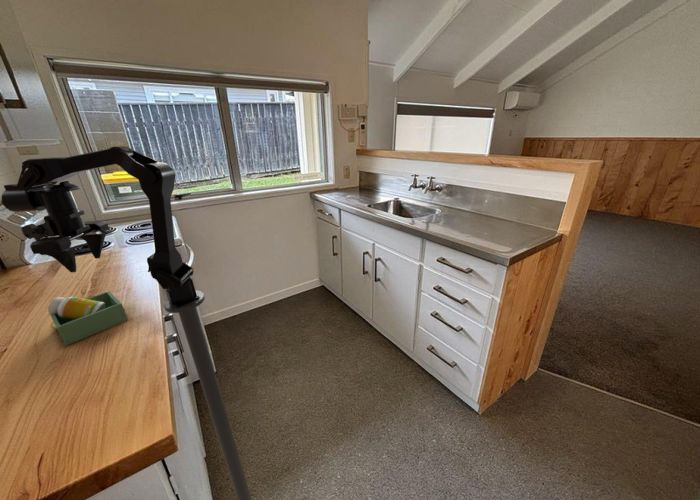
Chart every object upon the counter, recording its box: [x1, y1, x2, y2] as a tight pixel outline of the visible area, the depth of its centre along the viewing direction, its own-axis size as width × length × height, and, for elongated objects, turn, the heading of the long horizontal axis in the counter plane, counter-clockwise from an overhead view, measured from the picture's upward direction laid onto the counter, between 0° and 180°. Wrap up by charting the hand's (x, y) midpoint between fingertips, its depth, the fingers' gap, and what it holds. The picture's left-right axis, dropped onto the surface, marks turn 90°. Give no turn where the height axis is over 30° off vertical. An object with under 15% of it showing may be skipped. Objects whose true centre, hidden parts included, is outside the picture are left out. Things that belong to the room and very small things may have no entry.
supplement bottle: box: [47, 296, 105, 320], centre depth 72 cm, size 5×5×10 cm
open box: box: [48, 290, 129, 346], centre depth 73 cm, size 12×11×5 cm
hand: (86, 264), depth 78 cm, fingers open, 9 cm apart
